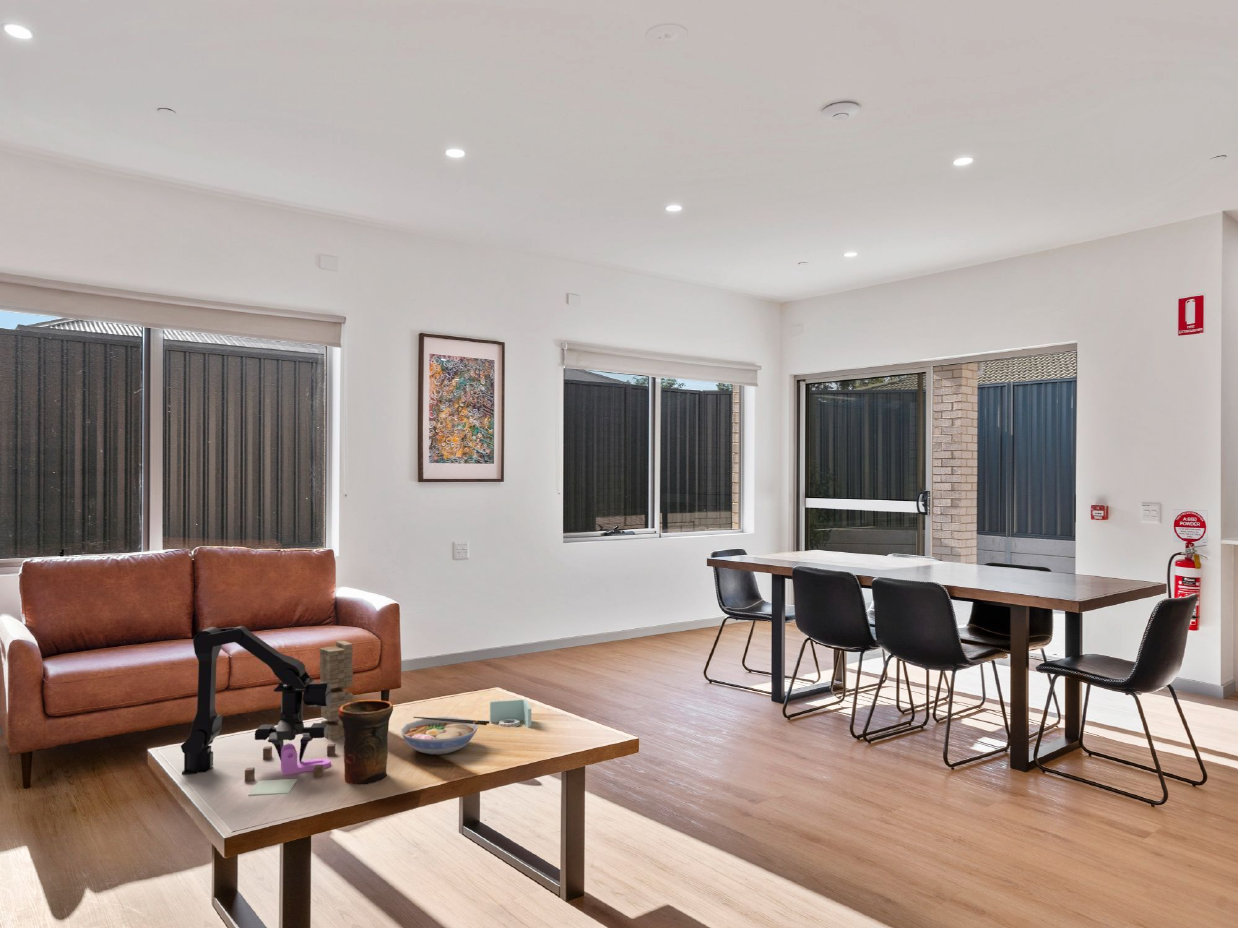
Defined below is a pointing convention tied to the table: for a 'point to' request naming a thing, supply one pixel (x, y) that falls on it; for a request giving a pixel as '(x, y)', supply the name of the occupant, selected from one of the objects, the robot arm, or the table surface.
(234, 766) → the table surface
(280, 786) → the felt pad
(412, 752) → the table surface
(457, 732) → the ramen bowl
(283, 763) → the bracket
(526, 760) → the table surface
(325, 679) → the block tower
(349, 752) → the vessel
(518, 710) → the right angle wall
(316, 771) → the tiny cardboard boxes
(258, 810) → the table surface
